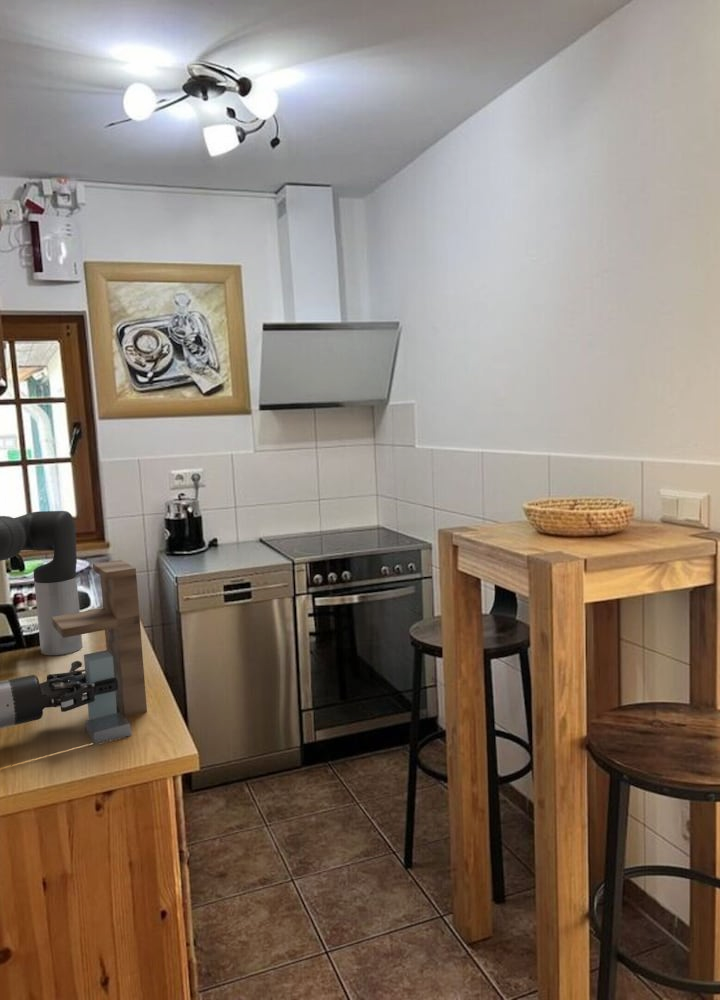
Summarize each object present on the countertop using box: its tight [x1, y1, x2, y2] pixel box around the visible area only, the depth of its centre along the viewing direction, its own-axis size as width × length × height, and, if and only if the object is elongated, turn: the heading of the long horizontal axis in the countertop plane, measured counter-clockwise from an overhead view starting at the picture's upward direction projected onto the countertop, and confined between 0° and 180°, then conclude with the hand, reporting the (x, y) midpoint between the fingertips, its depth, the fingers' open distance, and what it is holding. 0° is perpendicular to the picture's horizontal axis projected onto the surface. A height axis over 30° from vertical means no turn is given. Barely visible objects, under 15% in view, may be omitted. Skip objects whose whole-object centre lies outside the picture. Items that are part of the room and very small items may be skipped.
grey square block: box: [85, 711, 132, 746], centre depth 127 cm, size 6×6×2 cm
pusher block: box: [83, 649, 118, 720], centre depth 131 cm, size 4×4×12 cm
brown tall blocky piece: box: [51, 559, 148, 718], centre depth 135 cm, size 10×13×27 cm
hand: (113, 679), depth 132 cm, fingers closed on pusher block, 4 cm apart
